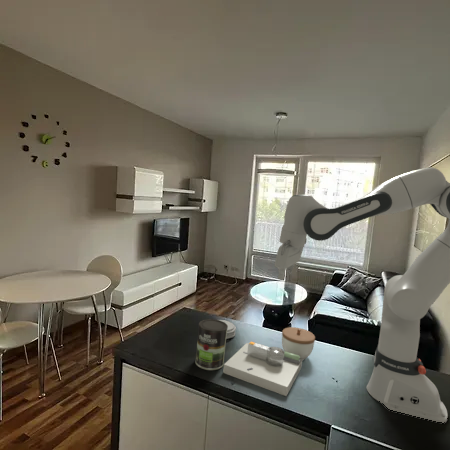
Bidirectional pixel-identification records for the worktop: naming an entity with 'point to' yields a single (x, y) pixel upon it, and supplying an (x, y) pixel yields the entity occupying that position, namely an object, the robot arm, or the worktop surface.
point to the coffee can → (211, 344)
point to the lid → (229, 329)
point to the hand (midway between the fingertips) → (284, 276)
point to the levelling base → (264, 370)
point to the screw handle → (266, 353)
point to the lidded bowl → (298, 341)
